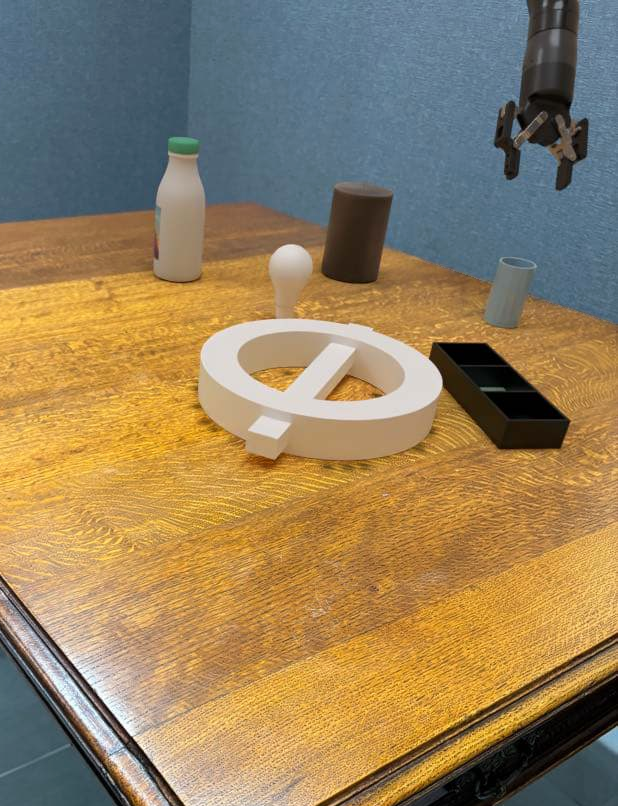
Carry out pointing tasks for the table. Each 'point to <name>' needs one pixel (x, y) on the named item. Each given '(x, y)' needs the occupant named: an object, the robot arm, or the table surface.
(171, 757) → the table surface
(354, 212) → the pillar candle
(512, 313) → the cup
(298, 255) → the lightbulb
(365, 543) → the table surface
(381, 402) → the ring with crossbar
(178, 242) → the milk bottle
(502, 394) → the rack
